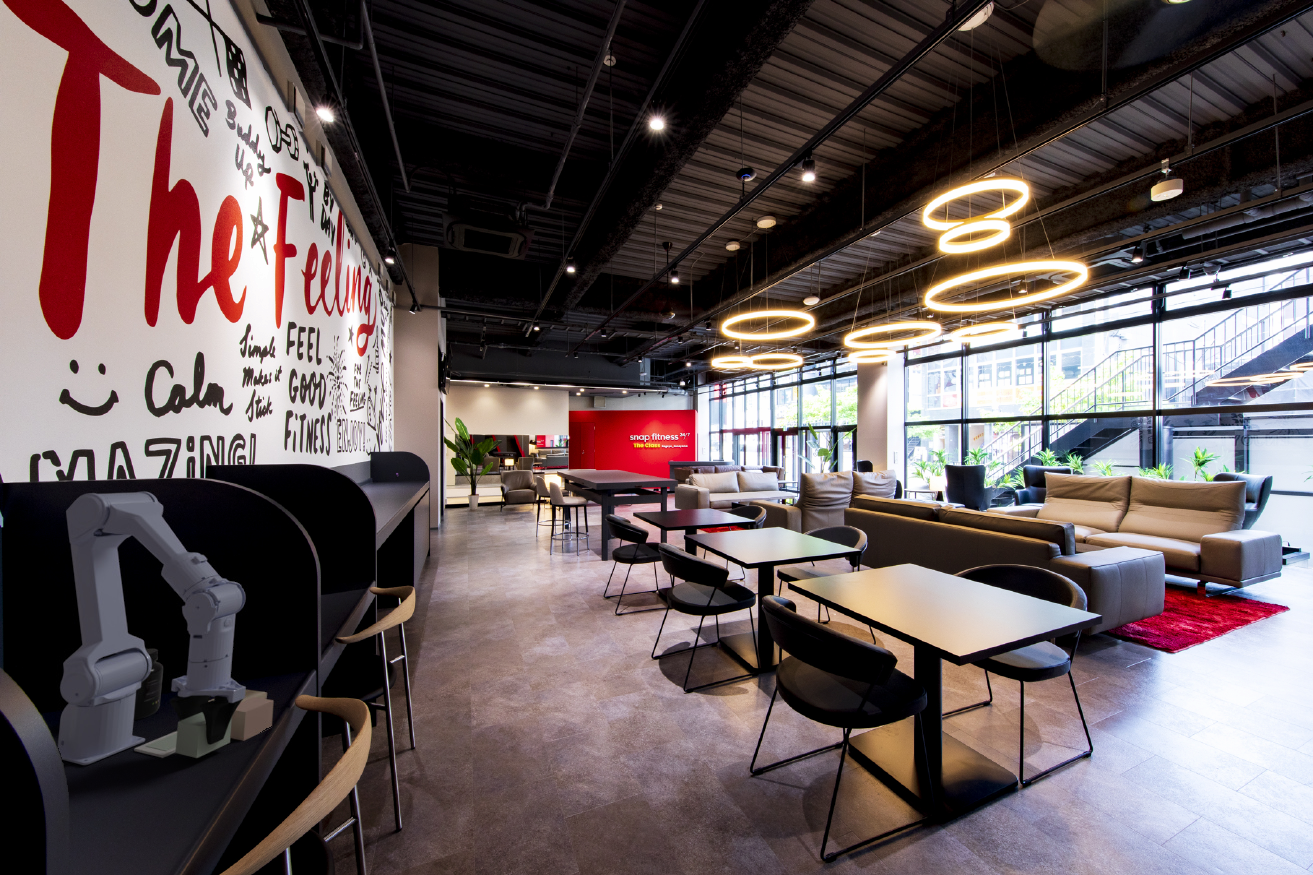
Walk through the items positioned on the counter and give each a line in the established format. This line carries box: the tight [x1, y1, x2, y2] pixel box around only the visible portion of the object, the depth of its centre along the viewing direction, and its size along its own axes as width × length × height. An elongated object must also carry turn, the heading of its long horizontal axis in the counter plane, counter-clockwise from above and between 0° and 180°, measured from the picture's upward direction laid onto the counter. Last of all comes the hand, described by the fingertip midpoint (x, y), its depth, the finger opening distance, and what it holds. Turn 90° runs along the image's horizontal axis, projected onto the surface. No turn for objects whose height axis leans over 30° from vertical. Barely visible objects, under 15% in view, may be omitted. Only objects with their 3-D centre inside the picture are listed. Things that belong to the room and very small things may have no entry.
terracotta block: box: [230, 697, 274, 742], centre depth 94 cm, size 5×5×5 cm
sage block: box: [174, 712, 232, 759], centre depth 86 cm, size 5×5×5 cm
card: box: [134, 730, 177, 759], centre depth 89 cm, size 7×7×1 cm
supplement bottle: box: [133, 648, 164, 722], centre depth 99 cm, size 7×7×12 cm
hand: (203, 738), depth 86 cm, fingers closed on sage block, 5 cm apart
